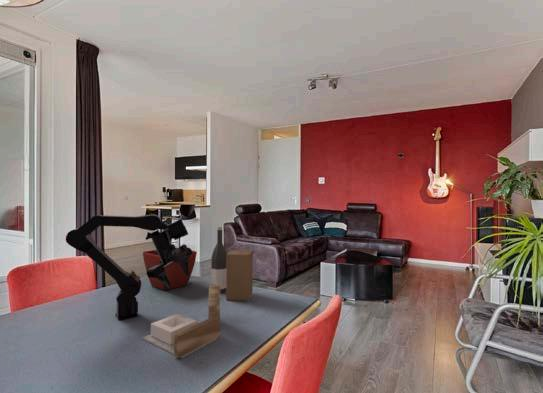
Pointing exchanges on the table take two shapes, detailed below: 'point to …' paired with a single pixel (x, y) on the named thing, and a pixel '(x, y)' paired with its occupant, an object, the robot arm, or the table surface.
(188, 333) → the rail base
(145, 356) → the table surface
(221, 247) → the wine bottle
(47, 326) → the table surface
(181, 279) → the plant pot
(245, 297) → the wooden block
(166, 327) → the socket block
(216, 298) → the dowel
